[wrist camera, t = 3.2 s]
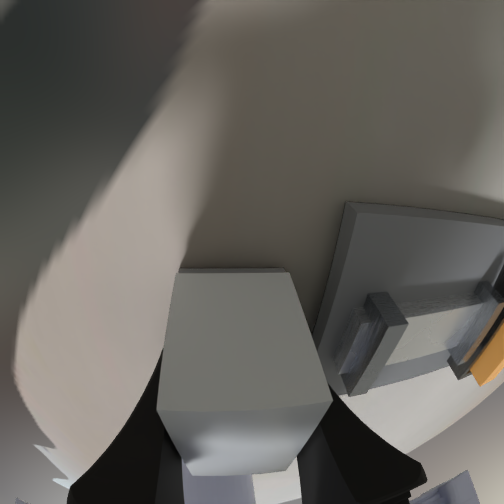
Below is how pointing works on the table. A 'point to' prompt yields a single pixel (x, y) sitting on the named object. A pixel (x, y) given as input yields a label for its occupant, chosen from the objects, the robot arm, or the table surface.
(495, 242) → the mounting board
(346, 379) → the gray slotted fixture
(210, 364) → the block
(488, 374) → the locking tab
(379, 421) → the table surface
